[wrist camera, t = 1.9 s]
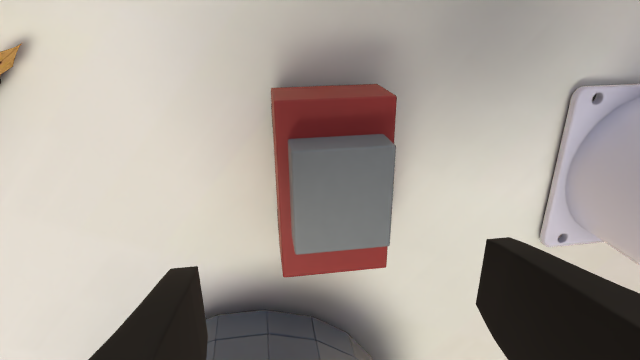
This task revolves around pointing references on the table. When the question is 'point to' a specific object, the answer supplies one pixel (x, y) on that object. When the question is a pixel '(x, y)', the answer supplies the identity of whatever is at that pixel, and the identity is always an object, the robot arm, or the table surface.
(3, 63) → the fountain pen
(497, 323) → the robot arm
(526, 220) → the table surface
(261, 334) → the bowl
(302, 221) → the red block grey top
